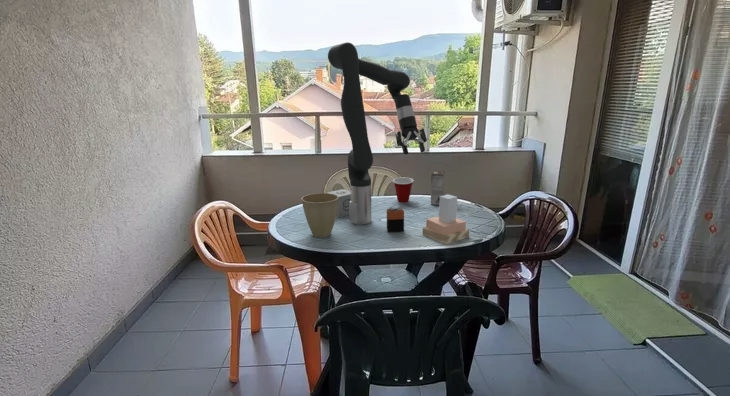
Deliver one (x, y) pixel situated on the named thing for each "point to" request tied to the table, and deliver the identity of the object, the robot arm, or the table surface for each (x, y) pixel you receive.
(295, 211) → the table surface
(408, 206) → the table surface
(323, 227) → the plant pot
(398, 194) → the plastic cup
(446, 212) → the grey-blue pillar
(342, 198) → the icon cube
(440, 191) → the coffee box
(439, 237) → the birch slab
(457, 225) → the terracotta slab
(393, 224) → the battery
